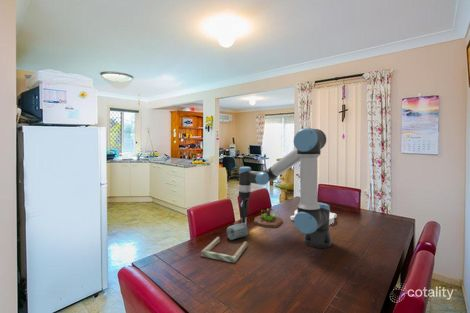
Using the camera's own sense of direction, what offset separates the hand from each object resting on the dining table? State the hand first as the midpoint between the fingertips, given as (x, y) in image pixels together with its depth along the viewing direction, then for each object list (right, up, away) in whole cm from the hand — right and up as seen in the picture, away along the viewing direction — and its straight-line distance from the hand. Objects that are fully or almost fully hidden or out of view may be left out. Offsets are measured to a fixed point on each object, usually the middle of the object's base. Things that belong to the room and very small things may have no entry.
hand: (243, 227), depth 158 cm
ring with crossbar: (+53, -2, +24) cm, 58 cm away
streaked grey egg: (-4, -3, -12) cm, 13 cm away
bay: (-11, -4, -28) cm, 31 cm away
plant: (+17, -2, +15) cm, 23 cm away
